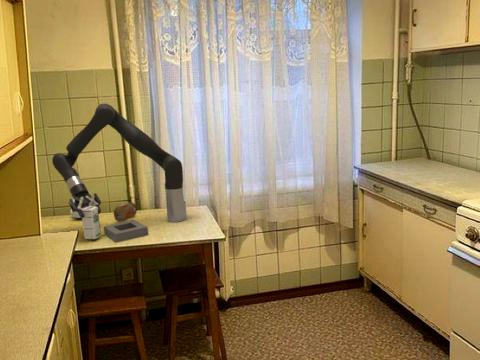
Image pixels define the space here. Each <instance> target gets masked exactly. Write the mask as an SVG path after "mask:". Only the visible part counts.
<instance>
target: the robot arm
mask: <svg viewBox="0 0 480 360" xmlns="http://www.w3.org/2000/svg"><path fill="white" fill-rule="evenodd" d="M107 126H110V128H113V130H115V131H116V132H117V133H118V134H119V135H120V136H121V137H122V139H123V140H124V141H125V142H126V143H127V144H128V145H130V146H131V147H132V148H134V149H135V150H136V151H137V152H139V153H140V154H142V155H144V156H145V157H148V158H149V159H151V160H152V161H153V162H155V163H156V164H157V165H158V166H159V167H160V168H161V169H162V170H163V171H164V180H165V182H164V193H165V202H166V219H167V221H168V222H172V223H178V222H182V221H185V220H187V217H188V215H187V204H186V201H185V200H184V198H185V197H184V186H183V185H184V173H183V172H184V170H183V169H184V168H183V163H182V162H181V160H180V159H178V158H177V157H176V156H174V155H172V154H170V153H168V152H167V151H165V150H164V149H163V148H162V147H160V146H159V145H158V143H156V142H155V140H154V139H152V137H150V136H149V135H148V134H147V133H146V132H145V131H143V130H141V129H140V128H139V127H137V126H136V125H134V124H133V123H132V122H131V121H129V120H127V119H126V118H125V117H124V116H122V115H121V113H119V112H118V111H117V110H116V109H115V108H114V107H113V106H112V105H111V104H108V103H101V104H98V106H97V107H96V109H95V110H94V114H93V116H92V117H91V119H90V121H89V122H88V123H87V125H85V127H84V128H83V129H82V130H80V131H79V132H78V133H77V134H76V135H75V136H74V137H73V138H72V139H71V140H70V141H69V142H68V144H67V146H66V151H67V154H65V153H62V152H57V153H55V154H54V155H53V156H52V165H53V167H54V169H55V170H56V171H57V172H58V173H59V174H60V176H62V178H63V180H64V183H65V184H66V188H67V189H68V191H69V192H70V194H71V197H72V198H73V199H72V198H70V199H69V200H68V205H69V207H70V210H71V209H72V211H73V212H75V211H76V212H78V214H79V216H80V217H82V218H84V213H83V211H82V210H81V209H80V208H81V206H85V205H90V206H97V207H98V214H99V215H100V214H101V212H102V210H101V207H100V206H101V204H102V201H101V199H100V197H99V196H98V194H97V193H93V194H90V193H89V190H88V188H87V187H86V184H85V183H84V181H83V180H82V178H81V177H80V175H79V173H78V171H77V170H76V169H75V168H74V165H75V163H76V161H77V160H78V158H79V155H80V154H81V153H82V152H83V150H85V149H86V147H87V146H88V145H89V144H90V143H91V141H92V140H93V139H94V138H95V137H96V135H98V133H100V131H102V130H104V128H106V127H107ZM74 202H75V203H77V204H78V207H77V208H76V206H75V204H74Z"/></svg>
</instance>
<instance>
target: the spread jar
mask: <svg viewBox="0 0 480 360" xmlns="http://www.w3.org/2000/svg"><path fill="white" fill-rule="evenodd" d="M74 204H75V206H76V208H77V207H78V204H77V203H75V202H74ZM87 206H90V205H85V206H81V208H80V209H81V210H82V209H84V208H86V207H87ZM70 216H71V217H73V219H74V220H76V221H82V217H80V216H79V214H78V212H76V211H75V212H73V211H72V209H71V208H70Z"/></svg>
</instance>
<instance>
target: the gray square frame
mask: <svg viewBox="0 0 480 360" xmlns="http://www.w3.org/2000/svg"><path fill="white" fill-rule="evenodd" d="M103 234H104V236H106V237H108V239H109V238H110V239H111V240H112V241H113V242H115V243H120V242H124V241H129V240H132V239H137V238H140V237H141V238H142V237H145V236H149V229H148V226H147V225H145V224H143V223H141V222H139V221H137V220H136V219H132V220H131V219H130V220H126V221H123V222H117V223H113V224H110V225H109V224H108V225H104V226H103Z"/></svg>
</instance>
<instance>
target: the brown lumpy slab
mask: <svg viewBox="0 0 480 360" xmlns="http://www.w3.org/2000/svg"><path fill="white" fill-rule="evenodd" d="M137 210H138V209H137V206H136V204H135V203H134V202H126V203H124V204H121V205H118V206H116V207H115V208H114V210H113V217H114V220H115V221H116V222H119V223H122V222H126V221H129V220H131V219H133V218H135V216H136V215H137Z"/></svg>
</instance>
